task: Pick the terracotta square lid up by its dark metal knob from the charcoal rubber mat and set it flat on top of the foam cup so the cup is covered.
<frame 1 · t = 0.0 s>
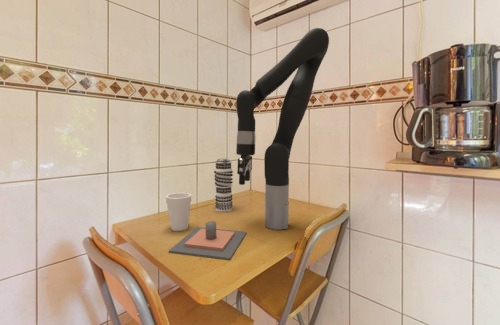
hand: (244, 182, 97), 17 cm above the table, tool pointing down, fingers open, 8 cm apart
lid: (211, 240, 82), point 1 cm above the table, touching mat
foam cup: (179, 228, 94), on the table
decorative candle: (224, 209, 118), on the table
mat: (211, 241, 82), on the table
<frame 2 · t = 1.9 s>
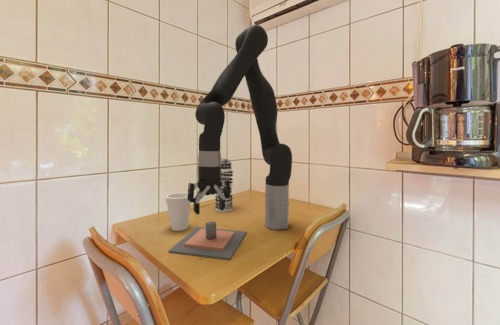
hand: (209, 212, 81), 11 cm above the table, tool pointing down, fingers open, 8 cm apart
nothing on the table moved.
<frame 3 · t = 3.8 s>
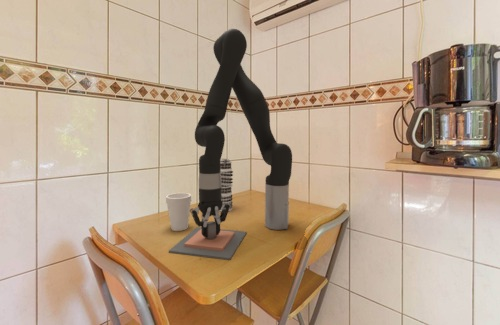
hand: (210, 235, 81), 2 cm above the table, tool pointing down, fingers closed on lid, 3 cm apart
lid: (211, 240, 82), point 1 cm above the table, touching gripper, mat
everything else where it was.
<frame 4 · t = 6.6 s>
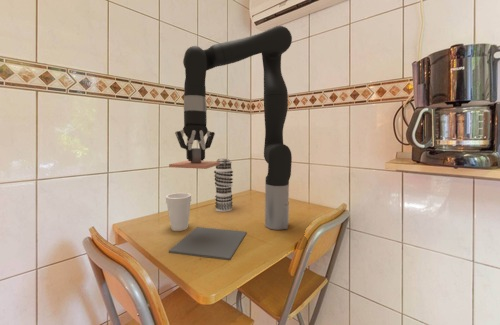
hand: (195, 160, 83), 28 cm above the table, tool pointing down, fingers closed on lid, 3 cm apart
lid: (196, 165, 83), point 26 cm above the table, touching gripper
everything else where it was.
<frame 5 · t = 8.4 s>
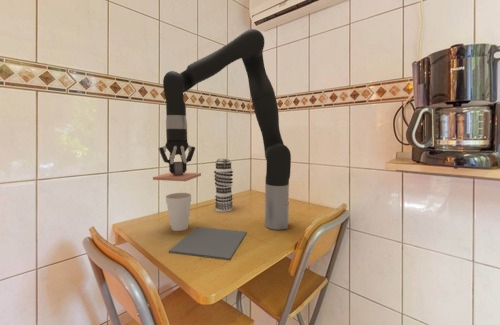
hand: (178, 172, 92), 22 cm above the table, tool pointing down, fingers closed on lid, 3 cm apart
lid: (178, 177, 92), point 20 cm above the table, touching gripper
everything else where it was.
when the fingers open (17 cm above the table, at t = 9.7 s): lid drops 2 cm, resting on foam cup.
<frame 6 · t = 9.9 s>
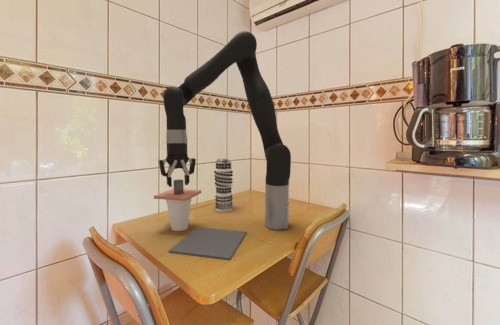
hand: (178, 185, 92), 17 cm above the table, tool pointing down, fingers open, 5 cm apart
lid: (178, 195, 93), point 13 cm above the table, touching foam cup
foam cup: (179, 228, 94), on the table, touching lid
everything else where it was.
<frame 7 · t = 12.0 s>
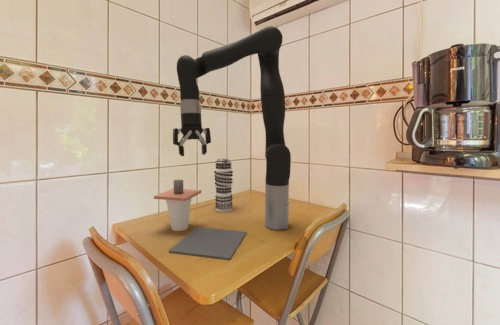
hand: (193, 155, 92), 29 cm above the table, tool pointing down, fingers open, 8 cm apart
nothing on the table moved.
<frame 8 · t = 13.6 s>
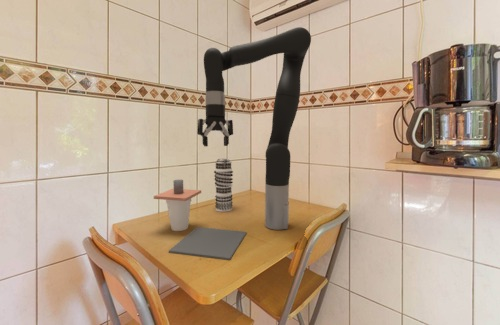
hand: (215, 146, 94), 32 cm above the table, tool pointing down, fingers open, 8 cm apart
nothing on the table moved.
at the end: lid 0.0 cm off-centre on the foam cup, point 13.2 cm above the foam cup's base; the gripper is holding nothing; foam cup tilted 0° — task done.
